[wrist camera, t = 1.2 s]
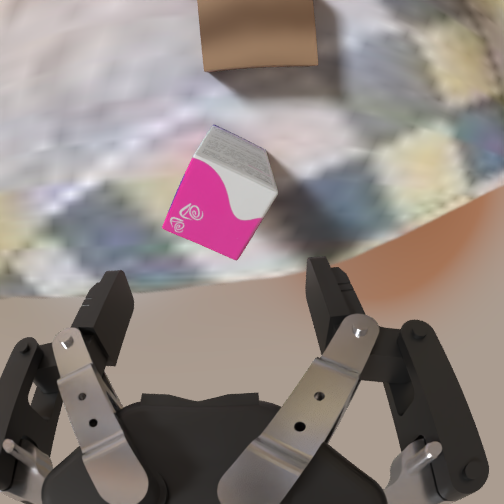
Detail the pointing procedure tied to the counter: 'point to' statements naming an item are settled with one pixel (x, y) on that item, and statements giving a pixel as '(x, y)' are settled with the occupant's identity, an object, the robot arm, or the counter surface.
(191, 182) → the supplement box
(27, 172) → the counter surface
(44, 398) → the robot arm
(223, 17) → the brown cardboard box
